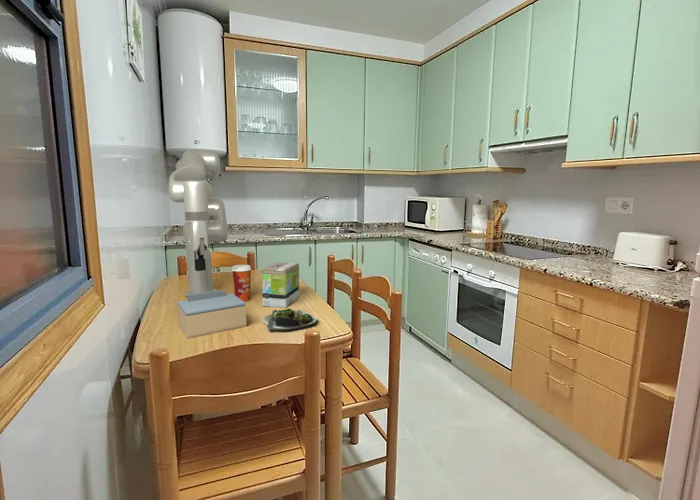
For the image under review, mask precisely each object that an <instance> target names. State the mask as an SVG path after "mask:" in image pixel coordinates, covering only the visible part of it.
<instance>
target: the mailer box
mask: <svg viewBox="0 0 700 500" xmlns="http://www.w3.org/2000/svg"><path fill="white" fill-rule="evenodd" d="M176 305H177V320H178V326H179V325H180V326H179V327H180V329H181V330H182V332H183V333H184V335H185V337H186V338H187V339H192V338H197V337H203V336H206V335H212V334H217V333H222V332H226V331H231V330H236V329H240V328H246V327H248V326H247V306H246V305H242V306H236V307H231V308H225V309H219V310H213V311H208V312H202V313H196V314H190V315H186V314H185V313H184V312H183V310H182V309H181V308H180V306H179V305H178V304H177V303H176Z"/></svg>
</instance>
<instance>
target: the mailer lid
mask: <svg viewBox="0 0 700 500" xmlns="http://www.w3.org/2000/svg"><path fill="white" fill-rule="evenodd" d="M177 304H178V305H179V306H180V308H181V309H182V310H183V312H184V313H185V314H186V315H190V314H196V313H202V312H208V311H213V310H219V309H225V308H231V307H236V306H242V305H245V306H246V304H247V303H246V302H243V301H242V300H241V299H239V298H238V297H237V296H235V293H233V292H231V293H226V290H225V289H220V290H217V291H211V292H205V293H198V294H191V295H187V297H186V299H185V300H180V301H179V300H178V301H176V305H177Z"/></svg>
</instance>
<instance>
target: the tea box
mask: <svg viewBox="0 0 700 500" xmlns="http://www.w3.org/2000/svg"><path fill="white" fill-rule="evenodd" d="M261 273H262V276H261V278H262V280H261V281H262V283H261V285H262V288H261V289H262V292H261V293H262V306H263V307H269V308H270V307H271V308H285V309H287V308H288V306H290V304H291V303H293V302H294V301H296V300H298V299H299V298H298V297H300V264H299V263H294V262H293V263H292V262H276V263H275V262H274V264H271V265H269V266H266V267H264V268H262V269H261Z"/></svg>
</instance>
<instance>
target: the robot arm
mask: <svg viewBox="0 0 700 500" xmlns="http://www.w3.org/2000/svg"><path fill="white" fill-rule="evenodd" d="M220 170H221V158H220V156H219V154H218V152H216V151H214V150H209V149H208V150H207V149H188V150H186V151H184V152H183V153H182V155H181V159H179V160H178V161H177V162H176V164H175V170H174V171H173V172H172V173H171V174H170V175H169V178H168V187H167V188H168V190H167V191H168V196H169V198H170V200H171V201H172V202H174V203H183V206H184V209H183V210H184V221H185V223H184V224H183V225H182V236H183V239H184V245H185V253H186V264H187V278H188V280H187V281H188V290H186V292H185V295H184V296H185V297H186V298H187V295H191V294H198V293H205V292H211V291H218V290H217V289H216V288H214V284H213V281H214V280H213V267H212V265H213V264H212V253H211V251H210V249H209V243H222V242H226V240H227V239H228V236H229V235H228V233H229V232H228V224H227V223H228V221H227V213H226V208H225V204H224V201H223V200H222V199H220V198H213V192H214V191H213V187H212V186H211V184H210V183H209V182H208V181H204V180H215V179H218V177H219V176H220Z"/></svg>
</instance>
